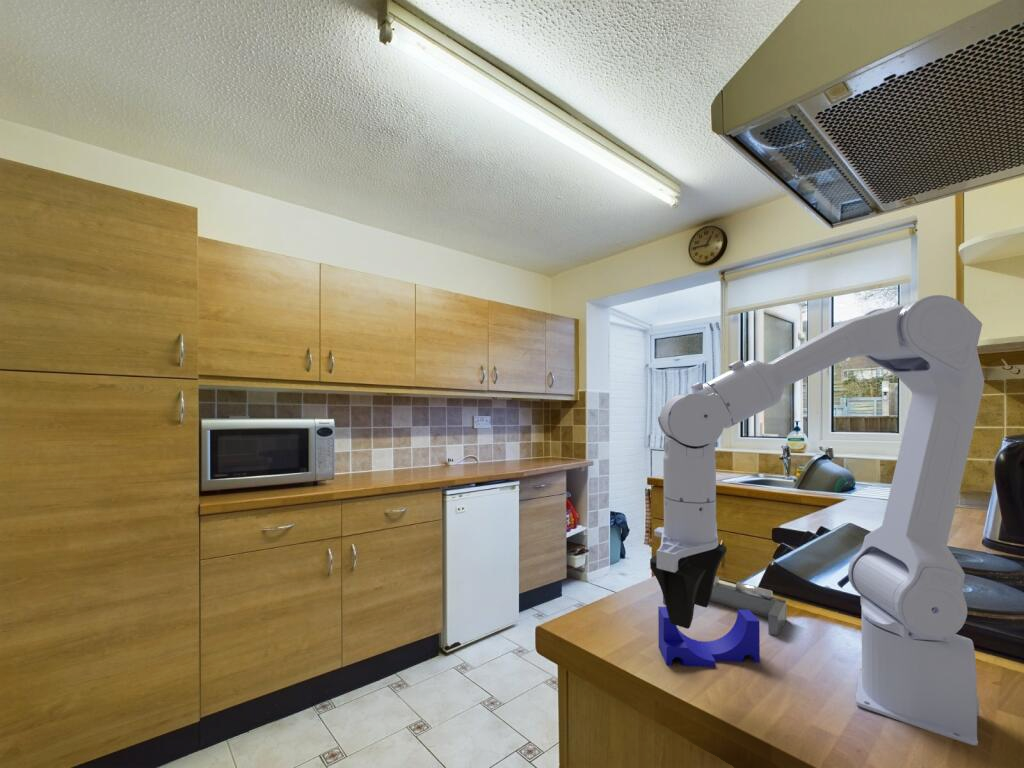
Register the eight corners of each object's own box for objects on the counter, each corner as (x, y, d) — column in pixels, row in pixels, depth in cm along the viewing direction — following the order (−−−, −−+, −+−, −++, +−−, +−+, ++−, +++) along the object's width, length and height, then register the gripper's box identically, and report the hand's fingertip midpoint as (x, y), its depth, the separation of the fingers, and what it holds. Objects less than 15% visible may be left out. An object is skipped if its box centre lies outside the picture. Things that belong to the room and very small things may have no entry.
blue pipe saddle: (666, 670, 59) (666, 623, 59) (658, 650, 63) (658, 606, 63) (765, 675, 58) (764, 627, 58) (749, 654, 62) (749, 609, 62)
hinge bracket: (786, 619, 71) (786, 592, 71) (777, 637, 66) (777, 608, 66) (677, 588, 82) (677, 565, 82) (663, 602, 77) (662, 577, 77)
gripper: (677, 482, 62) (678, 584, 62) (629, 503, 51) (630, 627, 51) (734, 490, 58) (734, 599, 57) (695, 515, 46) (695, 651, 46)
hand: (689, 614), depth 54 cm, fingers open, 6 cm apart
